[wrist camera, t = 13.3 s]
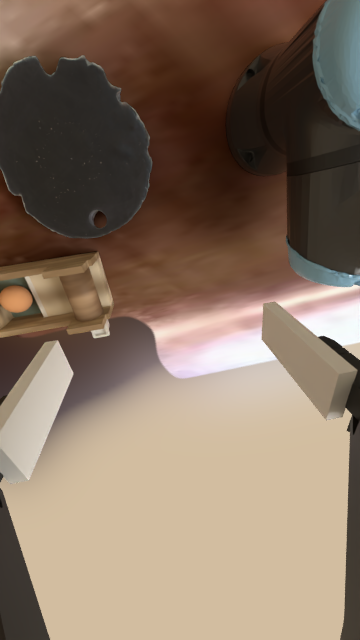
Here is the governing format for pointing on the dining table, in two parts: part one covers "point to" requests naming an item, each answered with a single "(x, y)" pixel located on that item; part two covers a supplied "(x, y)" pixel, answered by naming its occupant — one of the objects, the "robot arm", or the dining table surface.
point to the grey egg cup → (101, 331)
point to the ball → (15, 298)
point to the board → (72, 146)
